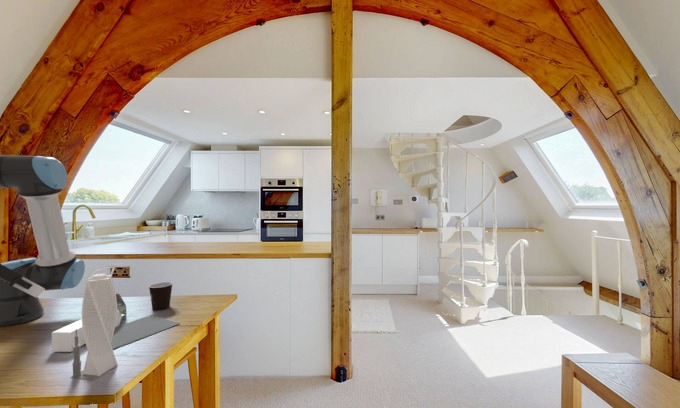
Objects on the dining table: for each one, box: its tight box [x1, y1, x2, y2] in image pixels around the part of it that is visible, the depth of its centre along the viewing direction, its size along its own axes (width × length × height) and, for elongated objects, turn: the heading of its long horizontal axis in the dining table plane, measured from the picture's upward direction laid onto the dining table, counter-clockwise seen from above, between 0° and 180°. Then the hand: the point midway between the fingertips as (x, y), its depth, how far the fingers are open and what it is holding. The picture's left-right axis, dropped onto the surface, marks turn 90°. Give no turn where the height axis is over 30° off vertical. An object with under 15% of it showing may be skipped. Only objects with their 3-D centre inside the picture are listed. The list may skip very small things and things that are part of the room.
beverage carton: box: [115, 293, 127, 321], centre depth 120 cm, size 8×19×7 cm, turn 43°
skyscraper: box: [70, 265, 118, 381], centre depth 80 cm, size 8×8×28 cm
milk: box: [51, 310, 125, 353], centre depth 101 cm, size 6×6×22 cm
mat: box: [111, 314, 180, 350], centre depth 104 cm, size 18×24×1 cm
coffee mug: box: [148, 281, 173, 312], centre depth 129 cm, size 12×9×10 cm
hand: (39, 292), depth 83 cm, fingers closed
